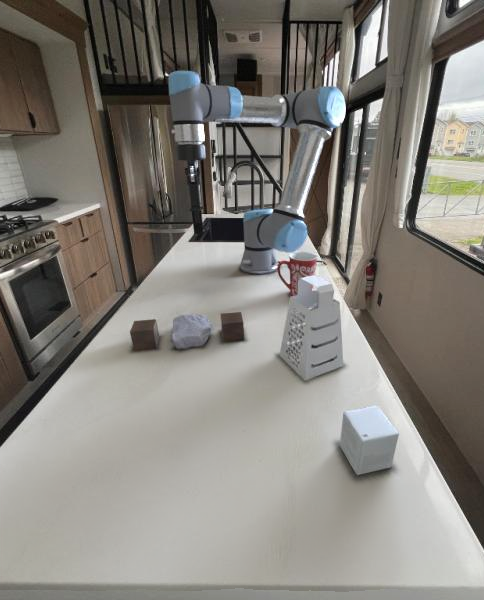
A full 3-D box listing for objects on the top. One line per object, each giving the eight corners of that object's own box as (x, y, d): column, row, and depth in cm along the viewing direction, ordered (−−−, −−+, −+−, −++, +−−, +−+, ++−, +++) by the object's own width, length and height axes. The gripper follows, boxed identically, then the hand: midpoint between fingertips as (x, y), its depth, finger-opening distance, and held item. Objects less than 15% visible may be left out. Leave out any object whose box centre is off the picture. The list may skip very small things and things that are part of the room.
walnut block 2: (241, 329, 88) (241, 311, 86) (244, 340, 83) (243, 321, 81) (221, 331, 88) (220, 313, 85) (222, 342, 83) (221, 323, 80)
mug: (313, 288, 112) (315, 251, 106) (316, 300, 104) (319, 260, 98) (276, 289, 112) (277, 251, 106) (277, 300, 104) (277, 260, 98)
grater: (305, 380, 69) (310, 295, 60) (279, 355, 77) (280, 277, 68) (343, 365, 73) (353, 284, 64) (315, 343, 81) (320, 268, 73)
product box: (392, 468, 50) (400, 434, 47) (356, 476, 49) (361, 442, 46) (371, 437, 55) (377, 404, 52) (338, 443, 54) (342, 410, 51)
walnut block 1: (159, 337, 86) (156, 318, 83) (156, 348, 81) (153, 329, 78) (138, 339, 85) (134, 320, 83) (134, 350, 80) (129, 331, 78)
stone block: (208, 328, 92) (172, 326, 90) (210, 313, 90) (173, 311, 88) (211, 353, 82) (170, 351, 80) (213, 337, 80) (172, 335, 78)
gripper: (177, 144, 90) (186, 228, 100) (173, 144, 78) (184, 239, 88) (204, 143, 91) (211, 227, 101) (204, 143, 79) (212, 238, 89)
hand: (198, 233), depth 95 cm, fingers closed
